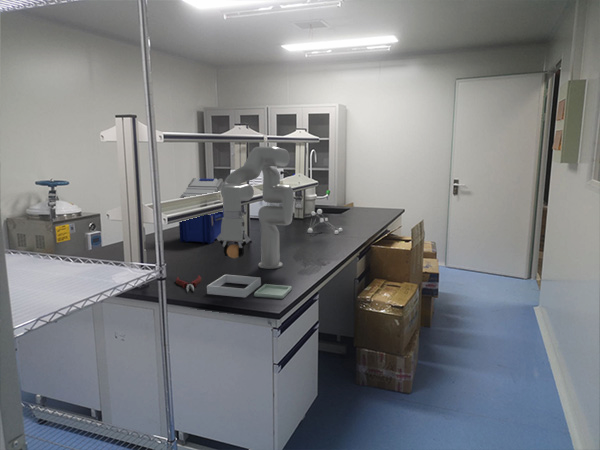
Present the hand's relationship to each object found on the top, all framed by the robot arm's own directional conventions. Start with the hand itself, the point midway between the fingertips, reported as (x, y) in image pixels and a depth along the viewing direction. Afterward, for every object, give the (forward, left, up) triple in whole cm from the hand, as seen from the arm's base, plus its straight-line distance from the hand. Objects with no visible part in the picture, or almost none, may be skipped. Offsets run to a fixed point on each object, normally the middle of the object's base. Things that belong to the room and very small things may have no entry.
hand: (233, 255), depth 195 cm
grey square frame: (0, 0, -15) cm, 15 cm away
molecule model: (-134, +9, -16) cm, 135 cm away
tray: (0, +18, -15) cm, 24 cm away
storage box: (-91, -64, -16) cm, 112 cm away
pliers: (+1, -24, -16) cm, 28 cm away
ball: (0, 0, +2) cm, 2 cm away
